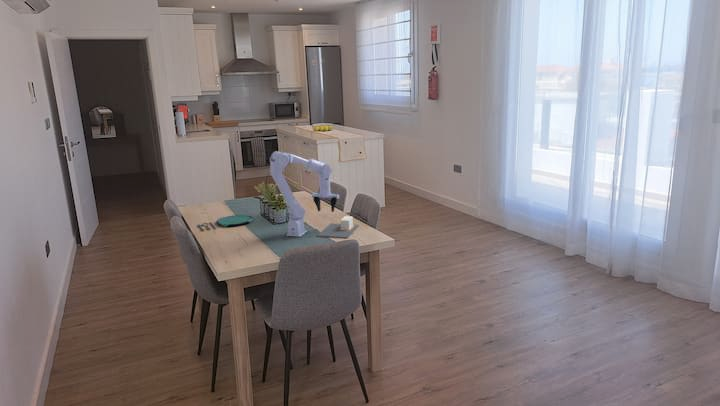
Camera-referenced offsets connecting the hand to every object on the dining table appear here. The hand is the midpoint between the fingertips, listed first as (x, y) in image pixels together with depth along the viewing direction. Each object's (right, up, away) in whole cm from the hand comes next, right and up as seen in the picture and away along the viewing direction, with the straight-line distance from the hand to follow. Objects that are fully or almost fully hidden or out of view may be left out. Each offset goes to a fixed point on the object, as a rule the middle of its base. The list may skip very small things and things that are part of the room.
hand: (326, 211), depth 263 cm
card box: (+11, -9, 0) cm, 14 cm away
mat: (+7, -10, -3) cm, 13 cm away
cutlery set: (-58, -8, +16) cm, 60 cm away
